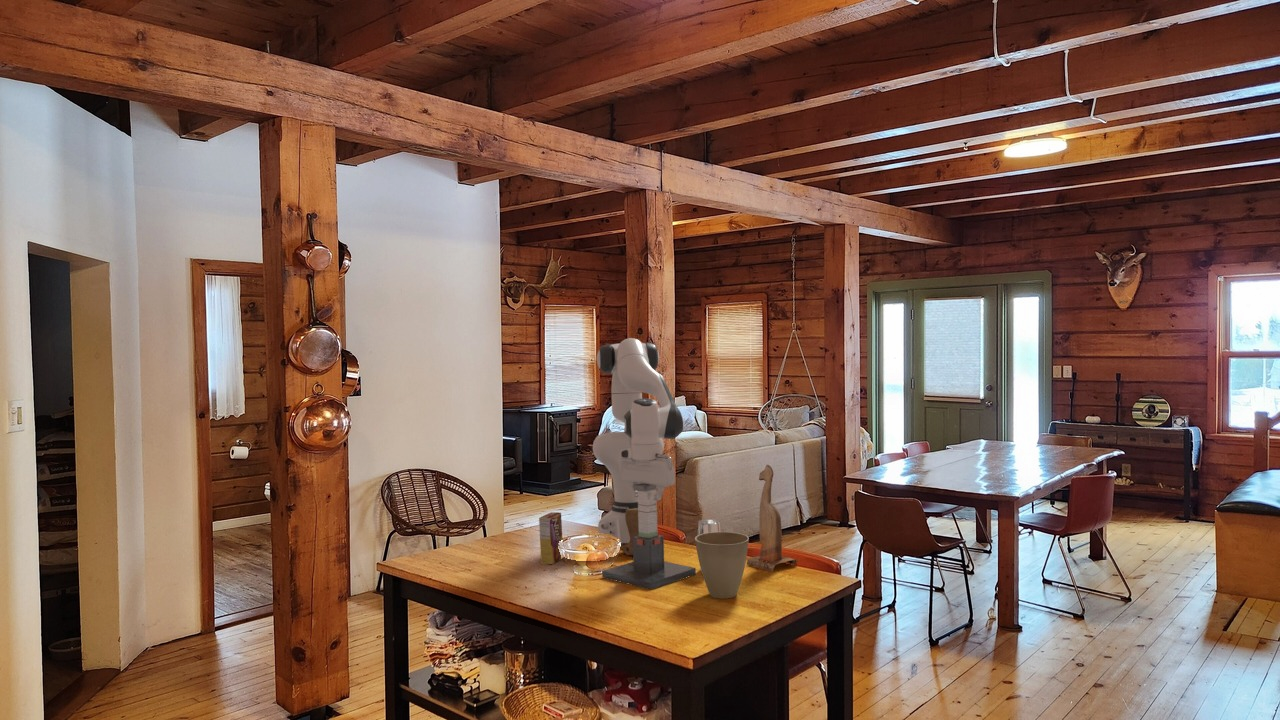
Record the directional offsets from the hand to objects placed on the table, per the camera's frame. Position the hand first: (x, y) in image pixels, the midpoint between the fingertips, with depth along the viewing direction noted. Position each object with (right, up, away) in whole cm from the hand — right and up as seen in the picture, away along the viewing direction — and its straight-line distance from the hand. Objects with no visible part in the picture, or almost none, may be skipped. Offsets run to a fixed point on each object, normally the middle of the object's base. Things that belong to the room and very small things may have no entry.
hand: (647, 498), depth 248 cm
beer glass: (+19, -23, +6) cm, 31 cm away
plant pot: (+21, -24, -20) cm, 38 cm away
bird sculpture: (+39, -23, +9) cm, 46 cm away
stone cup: (-2, -24, +31) cm, 39 cm away
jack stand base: (+1, -24, 0) cm, 24 cm away
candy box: (-31, -24, +21) cm, 45 cm away
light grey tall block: (0, -15, 0) cm, 15 cm away
